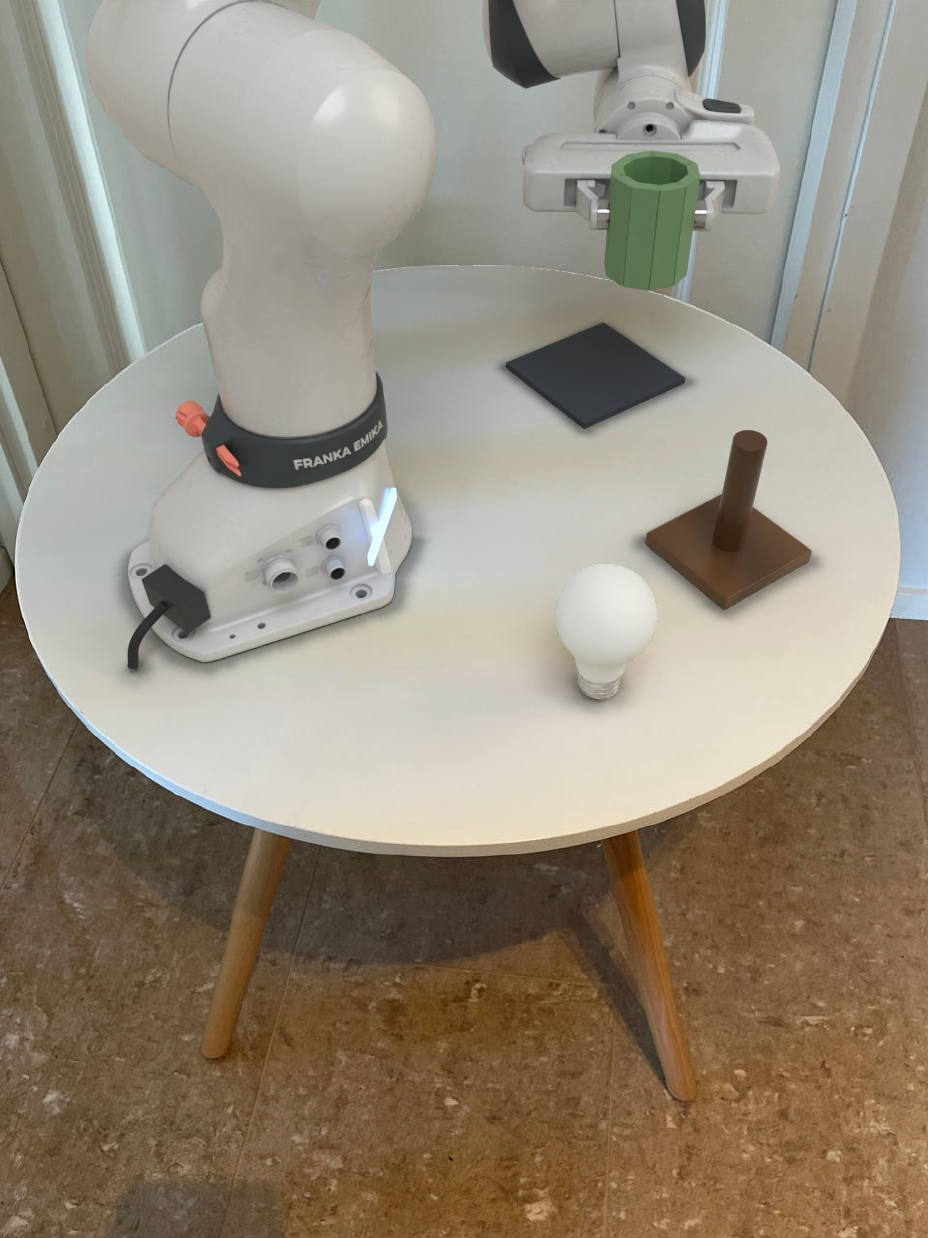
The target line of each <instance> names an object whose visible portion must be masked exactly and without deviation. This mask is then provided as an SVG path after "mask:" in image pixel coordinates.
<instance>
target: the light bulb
mask: <svg viewBox="0 0 928 1238" xmlns="http://www.w3.org/2000/svg"><path fill="white" fill-rule="evenodd" d="M658 611H659V610H658V604H657V601H656V598H655V593H653V590H651V587H650V585H648V583H647V582H646V581H645V579H644V578H643V577H642V576H641V575H639V574H637V573H636V572H634V571H633V570H632V569H630V568H628V567H625V566H623V565H619V564H614V563H598V564H593V565H590V566H587V567H585V568H582V569H581V570H579V571H577V572H575V573H574V574H573V575H572V576H571V577H570V578H569V579H568V580H567V581H566V582H565V583H564V585H563V586H562V587H561V589H560V591H559V593H558V594H557V597H556V600H555V606H554V614H553V616H554V617H553V618H554V625H555V626H554V627H555V630H556V633H557V635H558V637H559V639H560V641H561V643H562V645H563V646H564V647H565V648H566V649H567V650H568V652H569V653H570V654H571V655H572V656H573V657H574V659H575V666H576V669H577V676H576V677H577V684H578V686H579V689H580V690H581V692H582V693H583V694H584V695H585V696H587V697H588V698H592V699H594V700H603V701H605V700H607V699H610V698H612V697H614V696H615V695H616V694H617V693H618V691H619V690H620V687H621V682H622V675H623V674H624V672H625V670H626V667H627V664H628V663H629V662H631V661H632V660H633V659H635V658H637V657H638V656H639V655H641V654H642V653H643V652H644V651H645V650H646V649H647V648H648V646H649V645H650V643H651V641H652V640H653V638H654V635H655V632H656V630H657V626H658V621H659V620H658V616H659V614H658V613H659V612H658Z"/></svg>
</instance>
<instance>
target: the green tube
mask: <svg viewBox="0 0 928 1238" xmlns="http://www.w3.org/2000/svg"><path fill="white" fill-rule="evenodd" d="M699 183H700V172H699V168H698V165H697V164H696V163H695V162H693V161H691V160H690V159H688V158H686V157H684V156H682V155H680V154H677V153H669V152H661V151H645V152H639V153H632V154H627V155H625V156H624V157H622V158H621V159H619V160H618V161H616V162H615V163H613V164H612V167H611V180H610V194H609V206H610V218H609V230H606V235H605V248H604V249H605V250H604V262H603V263H604V273H605V276H606V277H607V278H609V280H612V281H613V282H614V283H616V284H618V285H619V286H621V287H623V288H628V289H634V290H641V291H654V290H655V291H656V290H660V289H665V288H671V287H674V286H676V285H677V284H678V283H679V282H680V281H682V280H683V279H684V278H685V277H686V276H687V275H688V270H689V264H690V263H689V262H690V255H691V247H692V241H693V232H694V231H693V225H694V218H695V212H696V205H697V197H698V190H699Z"/></svg>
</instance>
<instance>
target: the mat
mask: <svg viewBox="0 0 928 1238" xmlns="http://www.w3.org/2000/svg"><path fill="white" fill-rule="evenodd" d="M505 368H506V369H507V370H508V371H510V372H511V373H512V374H513V375H515V376H516V377H517V378H518V379H520V380H521V381H522V382H524V383H525V384H526V385H527V386H528V387H530V388H531V389H533V390H534V391H535V392H537V394H539V395H540V396H542V397H543V398H544V399H546V400H547V402H549V403H551V404H552V406H554V407H555V408H557V409H558V410H559V411H561V412H562V413H563V414H564V415H566V416H567V417H569V418H570V419H571V420H572V421H573V422H574V423H576V424H577V425H578V426H580V427H581V428H582V429H587V428H589V427H592V426H594V425H596V424H598V423H600V422H603V421H605V420H607V419H609V418H612V417H614V416H616V415H618V414H620V413H622V412H625V411H627V410H629V409H631V408H634V407H635V406H638V405H640V404H642V403H644V402H646V401H649V400H652V399H653V398H655V397H657V396H659V395H661V394H664V393H666V392H668V391H670V390H673V389H675V388H677V387H679V386H681V385H683V384H686V377H685V376H684V375H682V374H681V373H679V372H678V371H676V370H675V369H674V368H672V367H671V366H668V365H667V364H666V363H664V362H663V361H662V360H660V359H658V358H657V357H655V356H654V355H653V354H651V353H650V352H648V351H647V350H645V349H644V348H643V347H642V346H639V345H638V344H636V343H635V342H634V341H632V340H631V339H629V338H628V337H626V336H625V335H623V334H622V333H620V332H619V331H618V330H616V329H615V328H612V327H611V326H610V325H609V324H607V323H605V321H603V322H600V323H598V324H596V325H593V326H591V327H588V328H586V329H584V330H581V331H579V332H576V333H574V334H571V335H569V336H566V337H563V338H562V339H560V340H557V341H554V342H552V343H549V344H547V345H545V346H543V347H540V348H538V349H535V350H533V351H531V352H528V353H525V354H523V355H521V356H518V357H516V358H513V359H511V360H509V361H506V362H505Z"/></svg>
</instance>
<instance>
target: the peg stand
mask: <svg viewBox="0 0 928 1238" xmlns="http://www.w3.org/2000/svg"><path fill="white" fill-rule="evenodd" d="M767 446H768V439H767V437H766V436H765V435H764V434H763V433H762V432H760V431H757V430H752V429H743V430H740V431H737V432H735V434H734V435H733V436H732V440H731V447H730V452H729V457H728V462H727V465H726V472H725V477H724V481H723V486H722V492H721V494H719V495H717V496H715V497H713V498H711V499H709V500H708V501H706V502H703V503H702V504H700V505H697V506H695V507H694V508H692V509H690V510H688V511H686V512H684V513H682V514H680V515H678V516H676V517H675V518H672V519H671V520H669V521H667V522H664V523H663V524H660V525H659V526H657V527H655V528H653V529H652V530H650V531H648V532H647V531H646V533H645V534H646V535H645V542H644V543H645V545H646V546H647V547H648V548H649V549H650V550H652V552H655V553H656V555H658V556H659V557H660V558H662V560H664V561H665V562H666V563H668V564H669V565H670V566H671V567H672V568H673V569H674V570H676V571H677V572H678V573H679V574H680V575H682V577H684V578H685V579H686V580H688V581H689V582H690V583H692V585H694V586H695V587H696V588H698V589H699V590H700V591H701V592H702V593H703V594H704V595H705V596H707V597H708V598H709V599H711V600H712V601H713V602H714V603H716V604H717V605H718V606H719V607H720V608H721V609H722V610H727V609H729V608H730V607H733V606H734V605H736V604H737V603H740V602H741V601H742V600H744V599H746V598H748V597H750V596H752V595H753V594H755V593H757V592H759V591H760V590H762V589H764V588H766V587H767V586H769V585H771V584H773V583H774V582H776V581H778V580H779V579H781V578H783V577H784V576H786V575H788V574H790V573H791V572H793V571H795V570H797V569H798V568H800V567H802V566H803V565H805V564H807V563H809V562H810V560H811V556H812V552H813V550H812V549H811V548H809V547H808V546H807V545H806V544H804V543H802V542H801V541H799V539H797V538H796V537H795V536H793V535H792V534H790V532H788V531H787V530H785V529H784V528H783V527H781V526H780V525H778V524H777V523H775V521H773V520H771V519H770V518H769V517H767V516H766V515H765V514H764V513H762V511H760V510H758V509H757V508H755V507H754V503H755V499H756V494H757V490H758V486H759V483H760V482H759V481H760V477H761V473H762V468H763V464H764V460H765V455H766V451H767Z"/></svg>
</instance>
